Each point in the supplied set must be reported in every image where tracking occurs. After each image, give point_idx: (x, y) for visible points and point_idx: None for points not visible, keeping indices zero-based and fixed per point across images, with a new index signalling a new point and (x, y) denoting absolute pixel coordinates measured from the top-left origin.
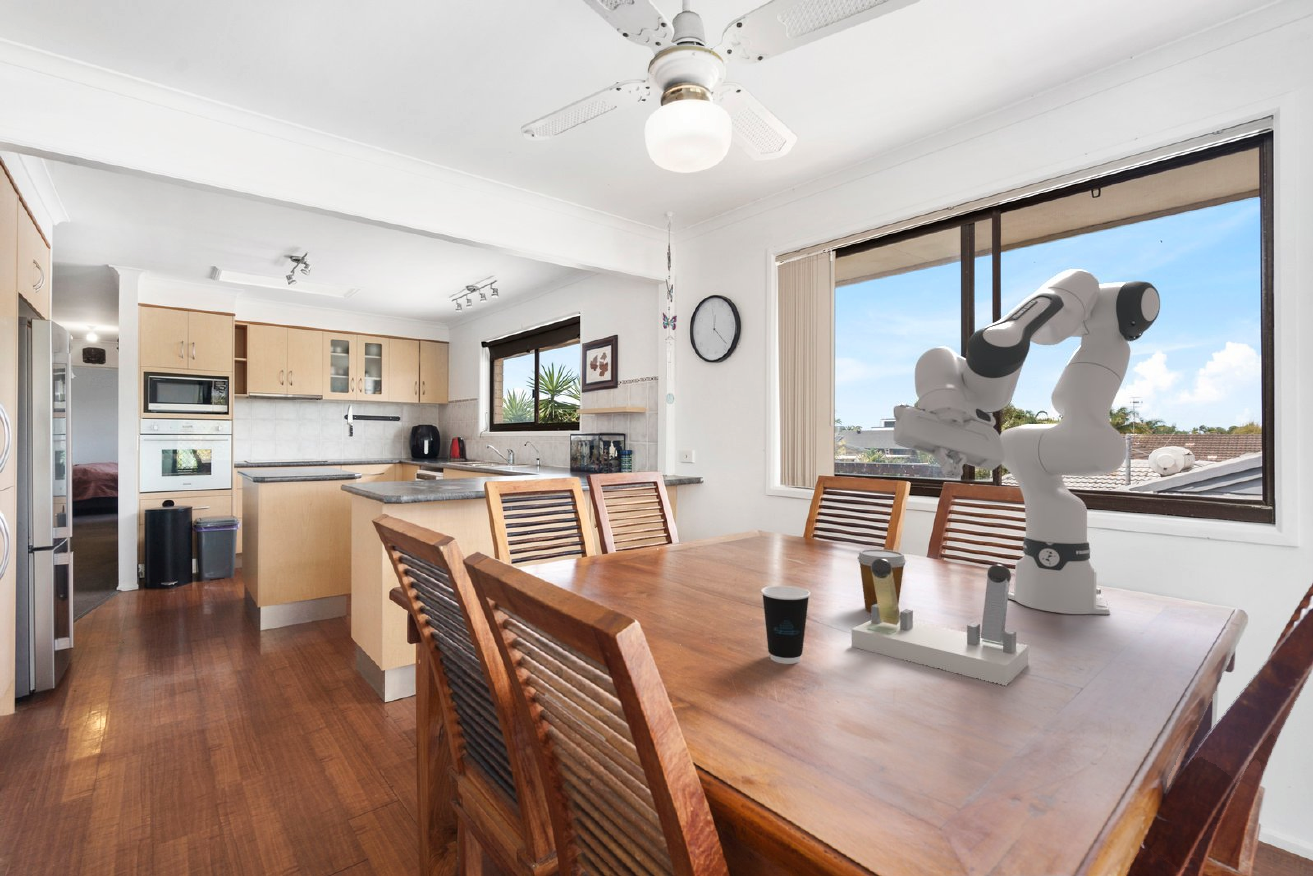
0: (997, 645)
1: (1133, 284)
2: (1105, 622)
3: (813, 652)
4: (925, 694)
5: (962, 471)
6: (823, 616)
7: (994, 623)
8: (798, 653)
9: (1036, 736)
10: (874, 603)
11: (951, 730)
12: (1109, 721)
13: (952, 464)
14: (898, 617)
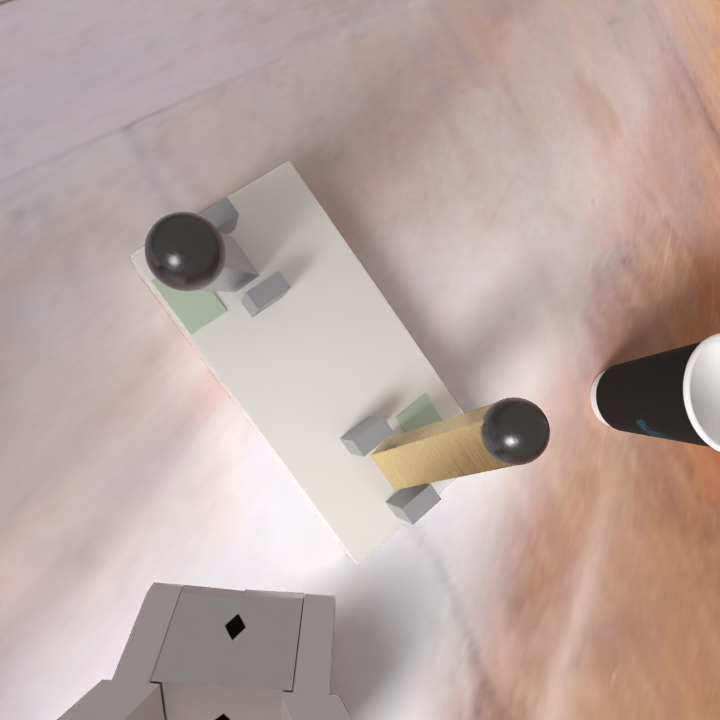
0: None
1: None
2: None
3: (554, 424)
4: (450, 188)
5: (153, 594)
6: (438, 699)
7: (234, 248)
8: (614, 366)
9: (375, 13)
10: None
11: (483, 70)
12: (210, 6)
13: (259, 666)
14: (384, 446)
